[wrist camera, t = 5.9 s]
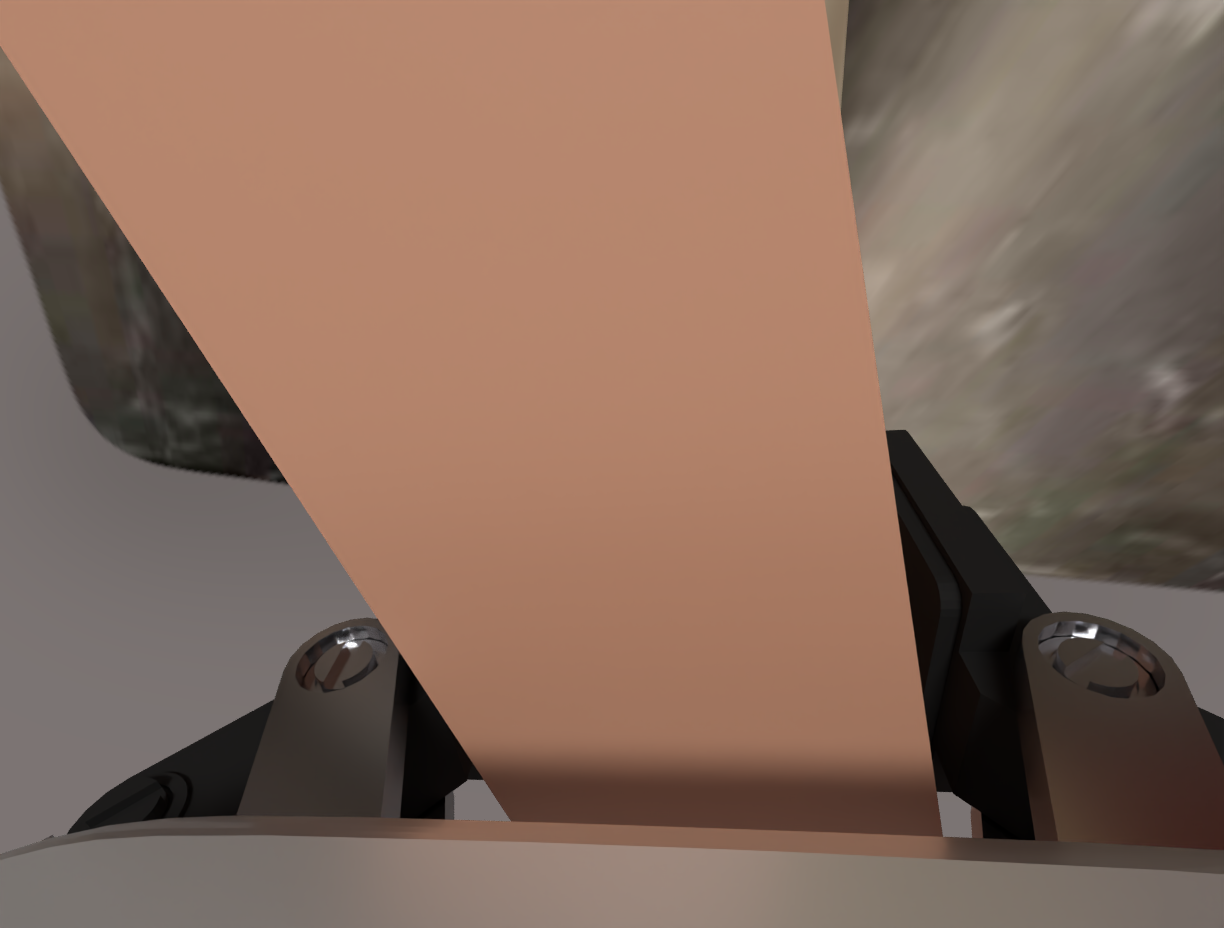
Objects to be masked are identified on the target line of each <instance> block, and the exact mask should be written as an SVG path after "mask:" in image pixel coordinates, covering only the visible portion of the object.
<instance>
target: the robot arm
mask: <svg viewBox="0 0 1224 928" xmlns="http://www.w3.org/2000/svg"><path fill="white" fill-rule="evenodd" d="M886 438H887V445H888V452H889V459H890V466H891V473H892V480H893V487H894V494H895V502H896V509H897V516H898V523H899V530H900V537H901V544H902V551H903V558H904V565H905V572H906V579H907V586H908V594H909V601H910V608H911V615H912V622H913V629H914V636H915V643H916V650H917V657H918V664H919V671H920V678H921V686H922V693H923V700H924V707H925V714H926V721H927V728H928V735H929V742H930V749H931V756H932V763H933V770H934V778H935V785H936V792H953V794H955V795H956V796H958V797H959V798H961V799H962V800H963V801H965V802H966V803H968V804H969V805H971V825H972V838H959V837H934V836H909V835H884V834H860V833H835V832H806V831H778V830H750V829H722V828H694V827H665V826H635V825H606V824H576V823H545V822H510V821H474V820H454V793H453V790H455V789H456V788H458V787H459V786H460V785H462V784H463V783H464V782H466V781H467V779H471V780H484V779H483V778H482V776H481V775H480V773H479V772H478V770H477V769H476V767H475V766H474V764H473V763H472V761H471V760H470V758H469V757H468V755H467V754H466V752H465V751H464V749H463V747H462V746H461V744H460V743H459V741H458V740H457V738H456V737H455V735H454V734H453V732H452V731H451V729H450V728H449V726H448V725H447V723H446V722H445V720H444V719H443V717H442V716H441V714H440V713H439V711H438V710H437V708H436V706H435V705H434V703H433V702H432V700H431V699H430V697H429V696H428V694H427V693H426V691H425V690H424V688H423V687H422V685H421V684H420V682H419V681H418V679H417V678H416V676H415V675H414V673H413V672H412V670H411V669H410V667H409V665H408V664H407V662H406V661H405V659H404V658H403V656H402V655H401V653H400V652H399V650H398V649H397V647H396V646H395V644H394V643H393V641H392V640H391V638H390V637H389V635H388V634H387V632H386V631H385V629H384V628H383V626H382V625H381V623H380V621H379V620H378V618H377V619H373V618H361V619H353V620H349V621H345V622H342V623H339V624H335V625H333V626H331V627H329V628H327V629H325V630H323V631H321V632H319V633H317V634H316V635H314V636H313V637H312V638H310V639H309V640H308V641H306V642H305V643H304V644H302V645H301V646H300V647H299V649H298V650H297V651H296V652H295V653H294V654H293V655H292V656H291V657H290V659H289V661H288V663H287V665H286V667H285V669H284V671H283V674H282V678H281V680H280V683H279V686H278V689H277V692H276V696H275V699H274V700H273V701H270V702H269V703H267V704H265V705H263V706H261V707H259V708H258V709H256V710H254V711H252V712H250V713H248V714H247V715H245V716H243V717H241V718H239V719H237V720H235V721H233V722H232V723H230V724H228V725H226V726H224V727H222V728H221V729H219V730H217V731H215V732H213V733H211V734H210V735H208V736H206V737H204V738H202V739H201V740H199V741H197V742H195V743H193V744H191V745H190V746H188V747H186V748H184V749H182V750H180V751H178V752H177V753H175V754H173V755H171V756H169V757H168V758H165V759H164V760H162V761H160V762H158V763H156V764H154V765H153V766H151V767H149V768H147V769H145V770H143V771H142V772H140V773H138V774H136V775H134V776H132V777H130V778H129V779H127V780H126V781H124V782H123V783H121V784H119V785H118V786H116V787H115V788H113V789H111V790H110V791H109V792H107V793H106V794H105V795H103V796H102V797H101V798H100V799H99V800H98V801H96V802H95V803H94V804H93V805H92V806H90V807H89V808H88V809H87V810H86V811H85V812H84V814H83V815H82V816H81V817H80V818H79V819H78V820H77V822H76V823H75V824H74V825H73V826H72V828H71V829H70V830H69V832H68V833H67V835H62V836H58V837H54V836H53V835H51V836H50V837H48V838H46V839H44V840H42V841H40V842H36V843H33V844H30V845H27V846H24V847H21V848H18V849H14V850H11V851H8V852H5V853H2V854H0V928H1224V719H1223V718H1221V717H1219V716H1216V715H1214V714H1212V713H1210V712H1208V711H1206V710H1203V709H1201V708H1199V707H1197V705H1196V703H1195V701H1194V698H1193V696H1192V694H1191V691H1190V689H1189V687H1188V685H1187V683H1186V681H1185V678H1184V676H1183V674H1182V672H1181V671H1180V669H1179V668H1178V666H1177V665H1176V663H1175V662H1174V660H1173V659H1172V657H1170V656H1169V655H1168V654H1167V653H1166V652H1165V651H1164V650H1162V649H1161V648H1160V647H1159V646H1158V645H1157V644H1155V643H1154V642H1153V641H1151V640H1150V639H1148V638H1146V637H1145V636H1143V635H1141V634H1140V633H1138V632H1136V631H1134V630H1133V629H1131V628H1128V627H1126V626H1123V625H1121V624H1118V623H1116V622H1114V621H1111V620H1108V619H1105V618H1100V617H1096V616H1093V615H1089V614H1083V613H1071V612H1057V613H1052V612H1051V611H1050V609H1049V608H1048V607H1047V606H1046V604H1045V603H1044V602H1043V600H1042V599H1041V598H1040V597H1039V595H1038V594H1037V592H1036V591H1035V590H1034V588H1033V587H1032V586H1031V584H1030V583H1029V582H1028V580H1027V579H1026V578H1025V576H1024V575H1023V574H1022V572H1021V571H1020V570H1019V568H1018V567H1017V566H1016V565H1015V563H1014V562H1013V561H1012V559H1011V558H1010V557H1009V555H1008V554H1007V553H1006V551H1005V550H1004V549H1003V547H1002V546H1001V545H1000V543H999V542H998V541H997V539H996V538H995V537H994V536H993V534H992V533H991V532H990V530H989V529H988V528H987V526H986V525H985V524H984V522H983V521H982V520H981V518H980V517H979V516H978V514H977V513H976V512H975V511H974V510H973V509H972V508H971V507H968V506H962V505H961V503H960V502H959V501H958V499H957V498H956V497H955V495H954V494H953V493H952V491H951V490H950V489H949V487H948V486H947V484H946V483H945V482H944V480H943V479H942V478H941V476H940V475H939V474H938V472H937V471H936V469H935V468H934V467H933V465H932V464H931V463H930V461H929V460H928V459H927V457H926V456H925V455H924V453H923V452H922V450H921V449H920V448H919V446H918V445H917V444H916V442H915V441H914V440H913V438H912V437H911V436H910V434H909V433H908V432H907V431H906V430H890V431H886Z"/></svg>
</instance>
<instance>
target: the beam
mask: <svg viewBox="0 0 1224 928" xmlns="http://www.w3.org/2000/svg"><path fill="white" fill-rule="evenodd" d="M0 46H1V48H2V49H3V51H4V52H5V54H6V55H7V57H8V58H9V60H10V61H11V63H12V64H13V66H14V67H15V69H16V70H17V72H18V73H19V75H20V76H21V78H22V79H23V81H24V82H25V84H26V86H27V87H28V89H29V90H30V92H31V93H32V95H33V96H34V98H35V99H36V101H37V102H38V104H39V105H40V107H41V108H42V110H43V111H44V113H45V114H46V116H47V117H48V119H49V120H50V122H51V123H52V125H53V127H54V128H55V130H56V131H57V133H58V134H59V136H60V137H61V139H62V140H63V142H64V143H65V145H66V146H67V148H68V149H69V151H70V152H71V154H72V155H73V157H74V158H75V160H76V161H77V163H78V164H79V166H80V167H81V169H82V171H83V172H84V174H85V175H86V177H87V178H88V180H89V181H90V183H91V184H92V186H93V187H94V189H95V190H96V192H97V193H98V195H99V196H100V198H101V199H102V201H103V202H104V204H105V205H106V207H107V208H108V210H109V212H110V213H111V215H112V216H113V218H114V219H115V221H116V222H117V224H118V225H119V227H120V228H121V230H122V231H123V233H124V234H125V236H126V237H127V239H128V240H129V242H130V243H131V245H132V246H133V248H134V249H135V251H136V253H137V254H138V256H139V257H140V259H141V260H142V262H143V263H144V265H145V266H146V268H147V269H148V271H149V272H150V274H151V275H152V277H153V278H154V280H155V281H156V283H157V284H158V286H159V287H160V289H161V290H162V292H163V294H164V295H165V297H166V298H167V300H168V301H169V303H170V304H171V306H172V307H173V309H174V310H175V312H176V313H177V315H178V316H179V318H180V319H181V321H182V322H183V324H184V325H185V327H186V328H187V330H188V331H189V333H190V335H191V336H192V338H193V339H194V341H195V342H196V344H197V345H198V347H199V348H200V350H201V351H202V353H203V354H204V356H205V357H206V359H207V360H208V362H209V363H210V365H211V366H212V368H213V369H214V371H215V372H216V374H217V376H218V377H219V379H220V380H221V382H222V383H223V385H224V386H225V388H226V389H227V391H228V392H229V394H230V395H231V397H232V398H233V400H234V401H235V403H236V404H237V406H238V407H239V409H240V410H241V412H242V413H243V415H244V416H245V418H246V420H247V421H248V423H249V424H250V426H251V427H252V429H253V430H254V432H255V433H256V435H257V436H258V438H259V439H260V441H261V442H262V444H263V445H264V447H265V448H266V450H267V451H268V453H269V454H270V456H271V457H272V459H273V461H274V462H275V464H276V465H277V467H278V468H279V470H280V471H281V473H282V474H283V476H284V477H285V479H286V480H287V482H288V483H289V485H290V486H291V488H292V489H293V491H294V492H295V494H296V495H297V497H298V498H299V500H300V501H301V503H302V505H303V506H304V508H305V509H306V511H307V512H308V514H309V515H310V517H311V518H312V520H313V521H314V523H315V524H316V526H317V527H318V529H319V530H320V532H321V533H322V535H323V536H324V538H325V539H326V541H327V542H328V544H329V545H330V547H331V549H332V550H333V552H334V553H335V555H336V556H337V558H338V559H339V561H340V562H341V564H342V565H343V567H344V568H345V570H346V571H347V573H348V574H349V576H350V577H351V579H352V580H353V582H354V584H355V585H356V587H357V588H358V590H359V591H360V593H361V594H362V596H363V597H364V599H365V600H366V602H367V603H368V605H369V606H370V608H371V609H372V611H373V612H374V614H375V615H376V617H377V618H378V620H379V621H380V623H381V625H382V626H383V628H384V629H385V631H386V632H387V634H388V635H389V637H390V638H391V640H392V641H393V643H394V644H395V646H396V647H397V649H398V650H399V652H400V653H401V655H402V656H403V658H404V659H405V661H406V662H407V664H408V665H409V667H410V669H411V670H412V672H413V673H414V675H415V676H416V678H417V679H418V681H419V682H420V684H421V685H422V687H423V688H424V690H425V691H426V693H427V694H428V696H429V697H430V699H431V700H432V702H433V703H434V705H435V706H436V708H437V710H438V711H439V713H440V714H441V716H442V717H443V719H444V720H445V722H446V723H447V725H448V726H449V728H450V729H451V731H452V732H453V734H454V735H455V737H456V738H457V740H458V741H459V743H460V744H461V746H462V747H463V749H464V751H465V752H466V754H467V755H468V757H469V758H470V760H471V761H472V763H473V764H474V766H475V767H476V769H477V770H478V772H479V773H480V775H481V776H482V778H483V779H484V781H485V782H486V784H487V785H488V787H489V788H490V790H491V791H492V793H493V795H494V796H495V798H496V799H497V801H498V802H499V804H500V805H501V807H502V808H503V810H504V811H505V813H506V814H507V816H508V817H509V819H510V820H511V822H545V823H576V824H606V825H635V826H665V827H694V828H722V829H750V830H778V831H806V832H835V833H860V834H884V835H909V836H934V837H943V835H942V827H941V820H940V813H939V806H938V799H937V792H936V785H935V778H934V770H933V763H932V756H931V749H930V742H929V735H928V728H927V721H926V714H925V707H924V700H923V693H922V686H921V678H920V671H919V664H918V657H917V650H916V643H915V636H914V629H913V622H912V615H911V608H910V601H909V594H908V586H907V579H906V572H905V565H904V558H903V551H902V544H901V537H900V530H899V523H898V516H897V509H896V502H895V494H894V487H893V480H892V473H891V466H890V459H889V452H888V445H887V438H886V431H885V424H884V417H883V410H882V402H881V395H880V388H879V381H878V374H877V367H876V360H875V353H874V346H873V339H872V332H871V325H870V318H869V310H868V303H867V296H866V289H865V282H864V275H863V268H862V261H861V254H860V247H859V240H858V233H857V226H856V218H855V211H854V204H853V197H852V190H851V183H850V176H849V169H848V162H847V155H846V148H845V141H844V134H843V126H842V119H841V112H840V105H839V98H838V91H837V84H836V77H835V70H834V63H833V56H832V49H831V41H830V34H829V27H828V20H827V13H826V6H825V0H0Z"/></svg>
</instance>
